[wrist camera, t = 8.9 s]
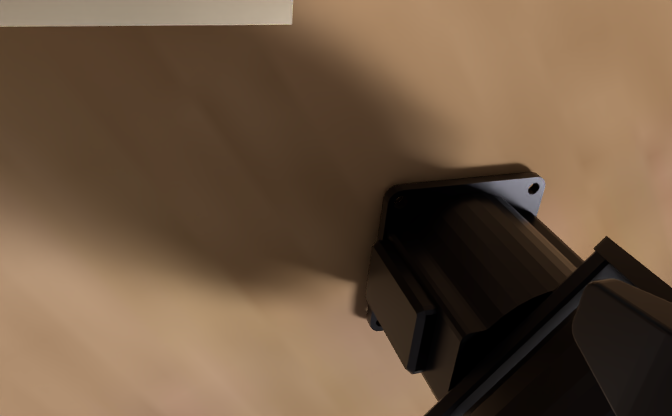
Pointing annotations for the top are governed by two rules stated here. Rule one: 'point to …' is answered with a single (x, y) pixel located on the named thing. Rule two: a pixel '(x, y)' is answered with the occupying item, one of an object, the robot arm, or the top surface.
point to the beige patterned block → (144, 12)
